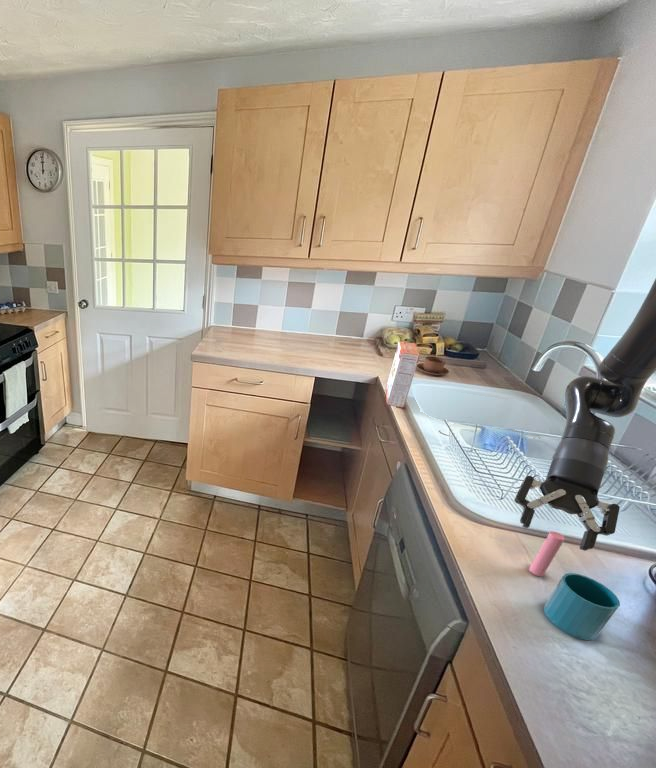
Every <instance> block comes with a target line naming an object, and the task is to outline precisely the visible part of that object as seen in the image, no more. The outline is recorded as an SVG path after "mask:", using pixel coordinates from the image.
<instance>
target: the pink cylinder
mask: <svg viewBox="0 0 656 768" xmlns="http://www.w3.org/2000/svg"><path fill="white" fill-rule="evenodd" d="M565 539H566V537H565V536H564V535H563V534H561V533H560V532H557V531H552V530H551V531H550V532H549V533H548V534H547V536H546V538H545V539H544V542H543V543H542V545H541V547H540V549H539V550H538V552H537V554H536V555H535V558H533V559H534V560H533V561H532V563H531V565H530V566H529V568H528V569H529V572H530V573H531V574H533V575H535V576H537V577H544V575H545V574H546V572H547V570H548V569H549V567H550V565H551V563H552V562H553V560H554V558H555V556H556V555H557V553H558V552H559V550H560V548H561V546H562V545H563V543H564V541H565Z"/></svg>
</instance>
